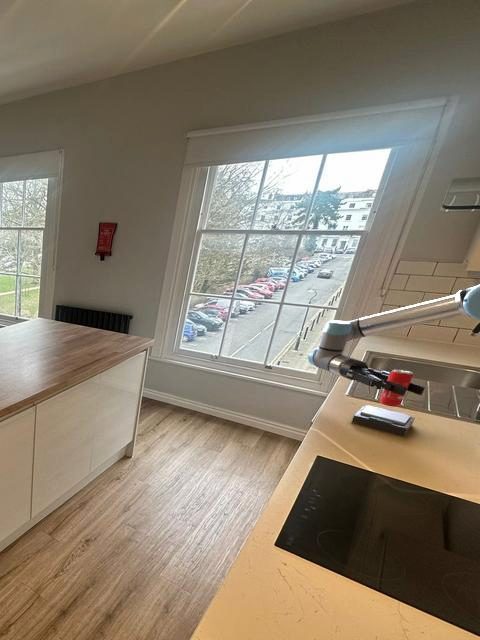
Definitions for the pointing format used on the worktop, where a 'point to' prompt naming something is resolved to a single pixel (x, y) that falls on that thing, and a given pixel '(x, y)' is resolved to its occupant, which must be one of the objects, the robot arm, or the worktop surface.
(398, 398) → the beverage can
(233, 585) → the worktop surface
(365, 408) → the scale
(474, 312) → the robot arm
